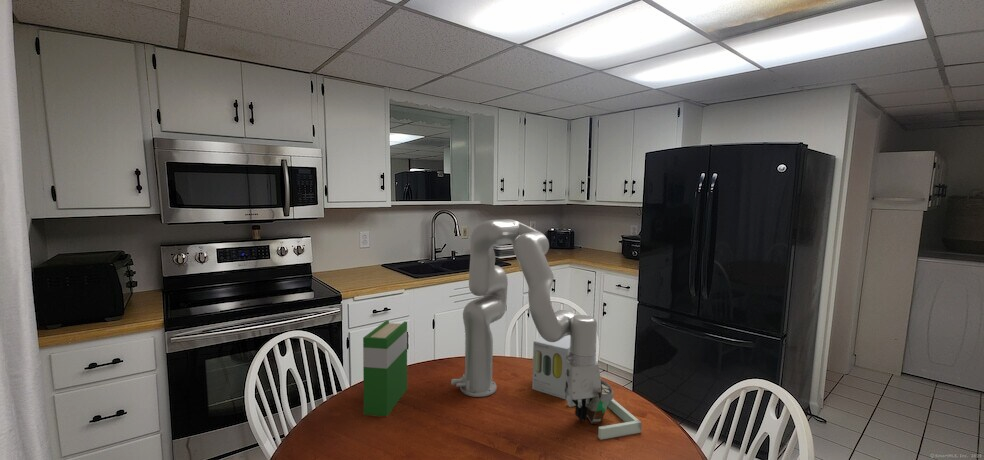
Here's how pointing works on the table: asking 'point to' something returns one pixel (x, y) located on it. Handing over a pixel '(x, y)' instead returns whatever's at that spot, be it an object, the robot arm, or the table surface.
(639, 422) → the bay
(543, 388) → the supplement box
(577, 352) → the robot arm
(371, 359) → the hardback book
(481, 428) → the table surface
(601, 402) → the food container
